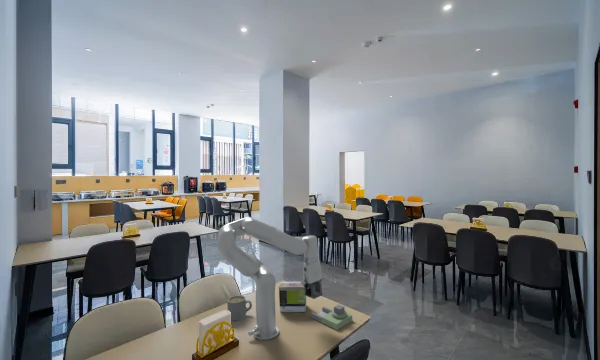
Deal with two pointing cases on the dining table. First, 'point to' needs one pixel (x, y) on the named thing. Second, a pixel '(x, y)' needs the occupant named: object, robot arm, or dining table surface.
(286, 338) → the dining table surface
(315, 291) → the chute
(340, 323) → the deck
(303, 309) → the tea box
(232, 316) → the coffee mug
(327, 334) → the dining table surface
